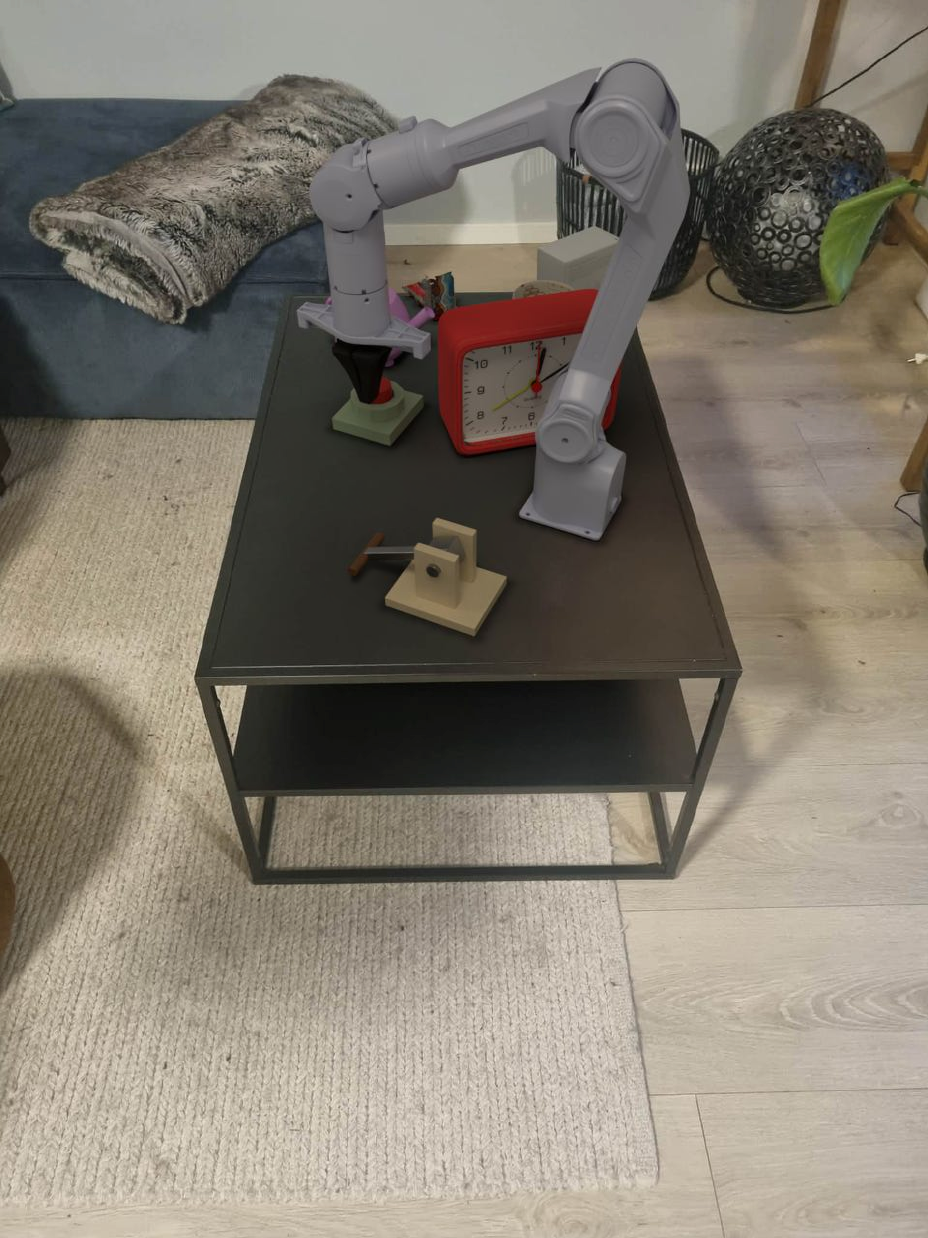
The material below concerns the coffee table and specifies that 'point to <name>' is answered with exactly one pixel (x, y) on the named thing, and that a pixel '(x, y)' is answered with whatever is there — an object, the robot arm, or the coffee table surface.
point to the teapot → (402, 314)
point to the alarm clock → (507, 366)
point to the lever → (402, 551)
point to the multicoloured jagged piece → (434, 293)
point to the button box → (379, 416)
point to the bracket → (447, 583)
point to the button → (384, 392)
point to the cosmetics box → (577, 258)
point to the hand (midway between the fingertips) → (369, 398)
